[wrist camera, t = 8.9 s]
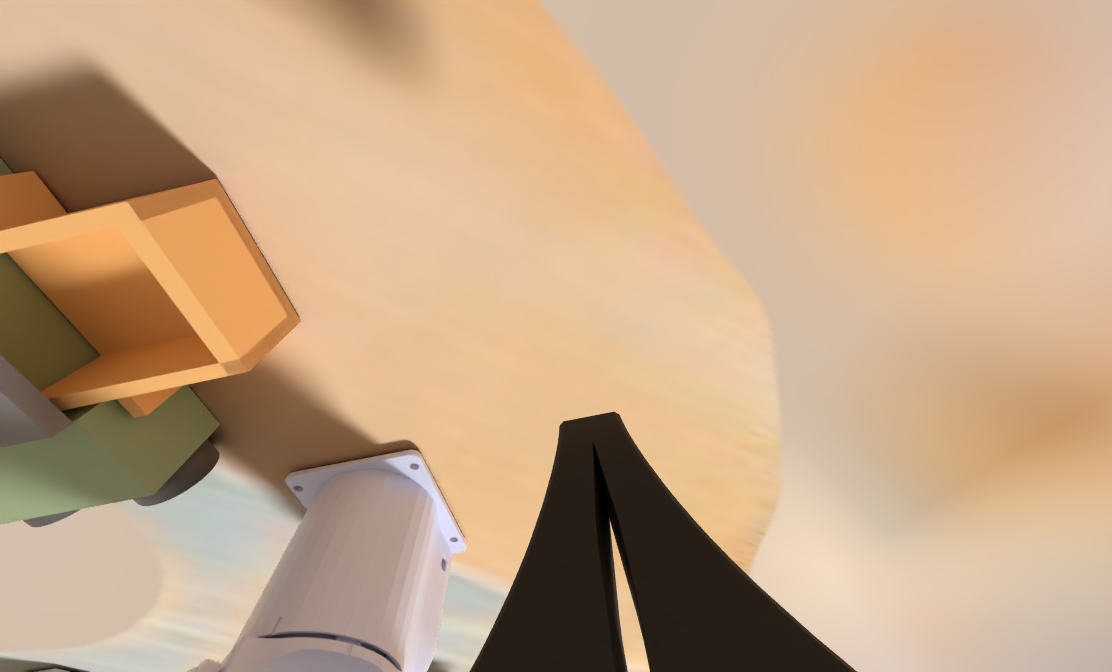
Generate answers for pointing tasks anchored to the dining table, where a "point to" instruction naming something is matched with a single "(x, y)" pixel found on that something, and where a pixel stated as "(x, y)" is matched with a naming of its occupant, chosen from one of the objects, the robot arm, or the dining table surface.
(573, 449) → the robot arm
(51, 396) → the wooden drawer
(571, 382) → the dining table surface
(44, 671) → the flask
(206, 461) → the green block with wheels
